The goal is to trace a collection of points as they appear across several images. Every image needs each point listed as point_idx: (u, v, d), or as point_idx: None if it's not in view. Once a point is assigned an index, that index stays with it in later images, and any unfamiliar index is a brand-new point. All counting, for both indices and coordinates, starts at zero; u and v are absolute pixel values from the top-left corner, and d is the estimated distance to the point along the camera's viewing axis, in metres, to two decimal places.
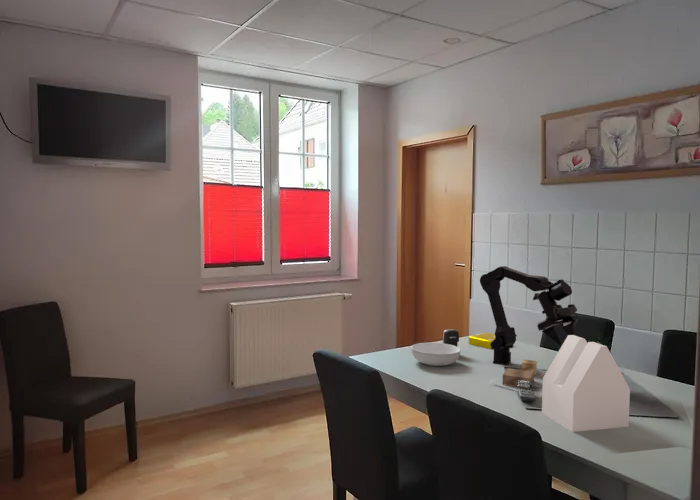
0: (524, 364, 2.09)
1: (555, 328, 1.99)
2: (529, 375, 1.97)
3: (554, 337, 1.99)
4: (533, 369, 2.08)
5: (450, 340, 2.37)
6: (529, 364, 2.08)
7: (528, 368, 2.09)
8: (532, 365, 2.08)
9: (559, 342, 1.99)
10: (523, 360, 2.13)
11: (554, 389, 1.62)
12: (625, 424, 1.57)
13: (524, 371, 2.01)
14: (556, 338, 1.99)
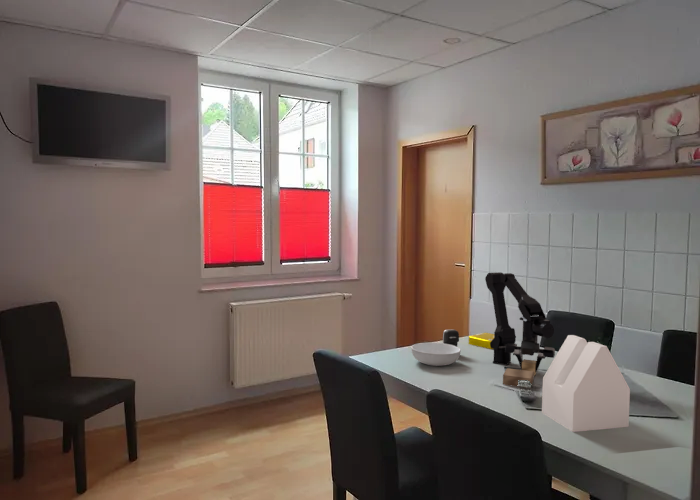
0: (524, 364, 2.09)
1: (518, 356, 2.11)
2: (529, 375, 1.97)
3: None
4: (533, 369, 2.08)
5: (450, 340, 2.37)
6: (529, 364, 2.08)
7: (528, 368, 2.09)
8: (532, 364, 2.08)
9: (521, 368, 2.12)
10: (523, 360, 2.13)
11: (554, 389, 1.62)
12: (625, 424, 1.57)
13: (524, 371, 2.01)
14: (520, 363, 2.12)
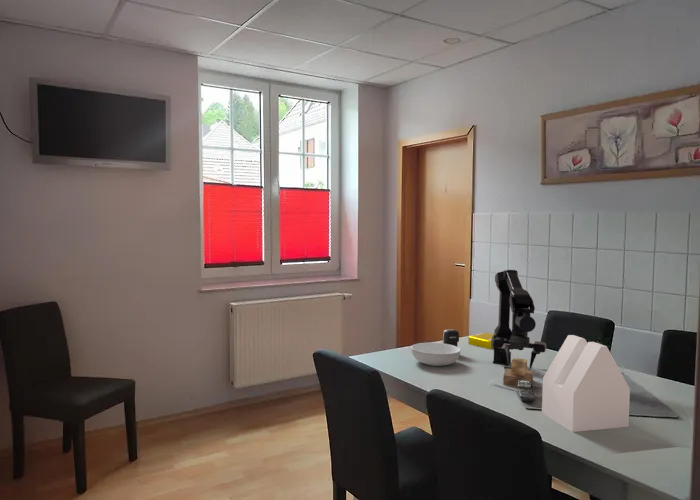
0: (514, 363, 1.97)
1: (502, 351, 1.99)
2: (529, 375, 1.97)
3: None
4: (523, 368, 1.96)
5: (450, 340, 2.37)
6: (519, 363, 1.96)
7: (518, 367, 1.97)
8: (522, 363, 1.96)
9: (506, 363, 2.01)
10: (513, 358, 2.01)
11: (554, 389, 1.62)
12: (625, 424, 1.57)
13: None
14: None
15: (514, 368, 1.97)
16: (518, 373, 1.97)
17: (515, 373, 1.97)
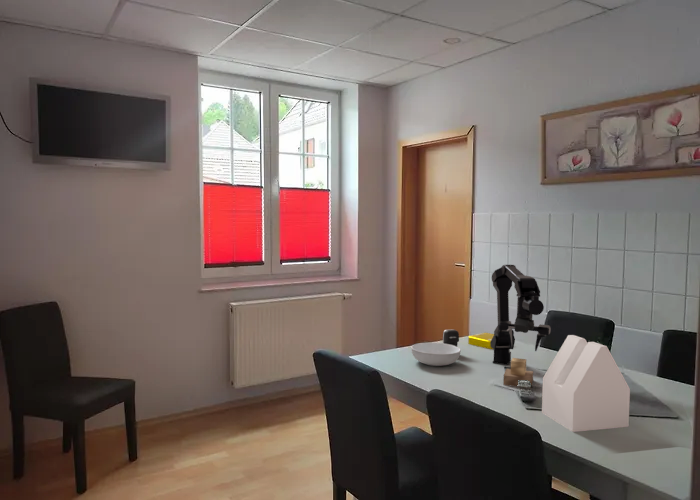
0: (513, 363, 1.98)
1: (506, 333, 2.04)
2: (529, 375, 1.97)
3: None
4: (523, 368, 1.96)
5: (450, 340, 2.37)
6: (518, 363, 1.97)
7: (517, 367, 1.97)
8: (521, 363, 1.96)
9: (510, 345, 2.06)
10: (512, 358, 2.01)
11: (554, 389, 1.62)
12: (625, 424, 1.57)
13: None
14: None
15: (514, 368, 1.98)
16: (518, 373, 1.97)
17: (515, 372, 1.98)
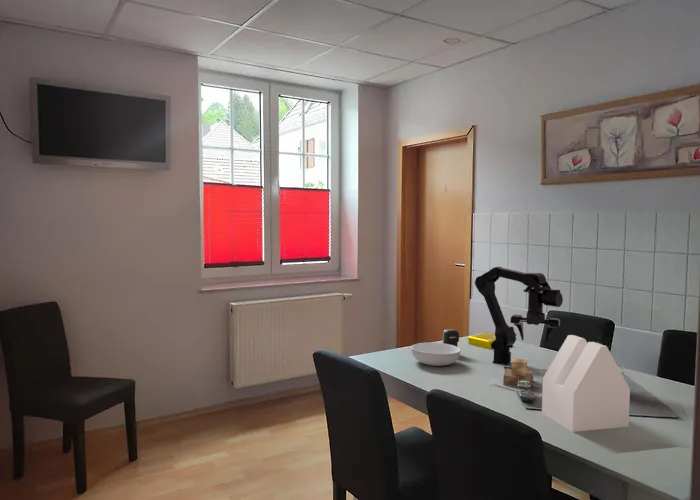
0: (514, 363, 1.97)
1: (518, 326, 2.16)
2: (529, 375, 1.97)
3: None
4: (523, 368, 1.96)
5: (450, 340, 2.37)
6: (519, 363, 1.96)
7: (518, 367, 1.96)
8: (522, 364, 1.96)
9: None
10: (513, 359, 2.00)
11: (554, 389, 1.62)
12: (625, 424, 1.57)
13: None
14: None
15: (514, 368, 1.97)
16: (518, 373, 1.96)
17: (515, 373, 1.97)
